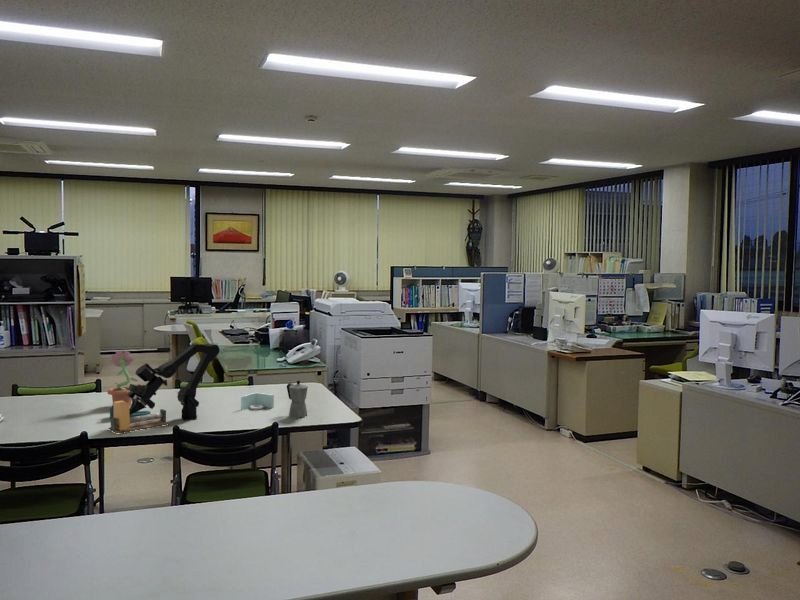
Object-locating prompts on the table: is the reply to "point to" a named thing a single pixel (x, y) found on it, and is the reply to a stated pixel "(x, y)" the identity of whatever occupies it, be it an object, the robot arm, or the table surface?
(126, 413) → the orange tan block
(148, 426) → the pipe board
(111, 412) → the bracket
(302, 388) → the coffeepot
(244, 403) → the l-shaped corner panel
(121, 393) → the decorative flower
